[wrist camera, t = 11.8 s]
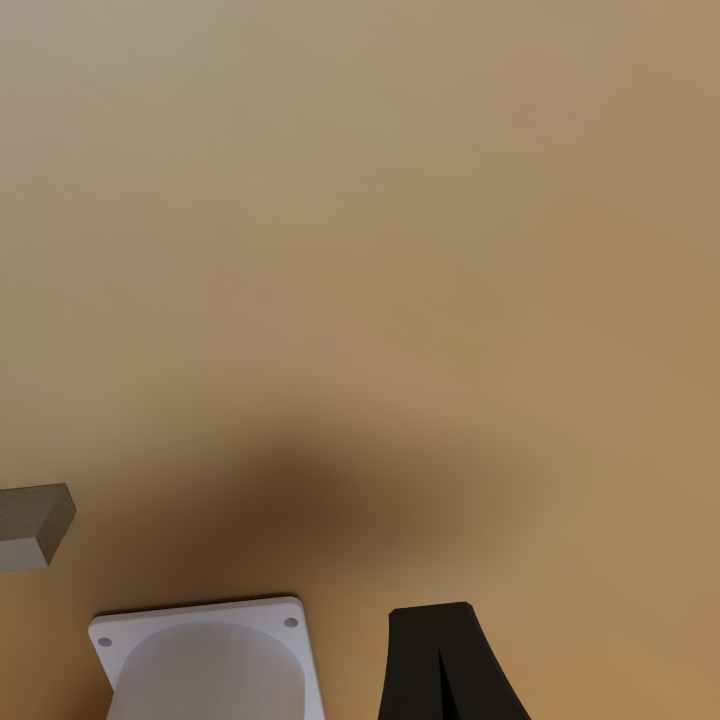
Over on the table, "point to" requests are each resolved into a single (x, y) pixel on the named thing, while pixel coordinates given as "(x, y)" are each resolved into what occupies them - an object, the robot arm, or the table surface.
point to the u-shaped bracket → (33, 525)
